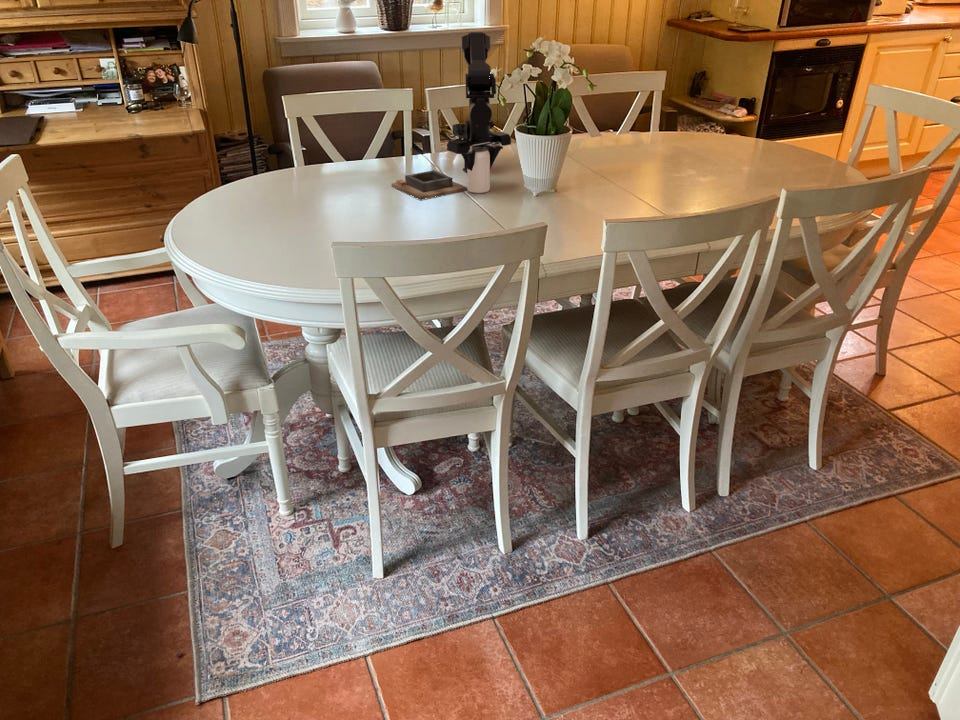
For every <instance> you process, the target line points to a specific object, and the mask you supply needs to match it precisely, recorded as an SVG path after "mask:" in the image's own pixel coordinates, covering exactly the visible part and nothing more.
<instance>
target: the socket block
mask: <svg viewBox="0 0 960 720" xmlns="http://www.w3.org/2000/svg"><path fill="white" fill-rule="evenodd" d="M404 178H405V180H404V179H397V180H396V181H395V182H392V183H391V187H392V186H393V187H392V188H394V187H395V188H394V189H396V188H397V189H396V190H398V189H399V190H398V191H400V190H401V191H400V192H402V191H403V192H402V193H404V192H405V193H404V194H406V193H407V194H406V195H408V194H409V195H408V196H410V195H412V196H414V197H416V198H418V199H425V198H429V199H432V198H431V197H434V198H438V197H437V196H439V197H442V196H441V195H444V196H447V194H448V195H453V194H456V193H457V192H458V193H461V192H466V191H468V186H465V185H463V184H460V183H458V182H455V181H454V180H453V177H451V176H448V175H447V174H444V173H442V172H439V171H437V170H435V169H433V170H429V171H422V172H418V173H412V174H407V175H404ZM452 193H453V194H452ZM412 196H411V197H412ZM435 196H436V197H435ZM414 197H413V198H414ZM416 198H415V199H416ZM418 199H417V200H418ZM425 200H426V199H425Z"/></svg>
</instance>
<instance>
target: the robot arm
mask: <svg viewBox="0 0 960 720" xmlns="http://www.w3.org/2000/svg"><path fill="white" fill-rule="evenodd" d="M460 45H461V46H460V47H461V53H463V60H464V61H465V63H466V64H467V73H465V75H464V77H465V78H464V79H465V82H464V83H465V84H464V85H465V99H468V118H469V119H466V121H465V125H462V124H461V123H456V124H453V125H452V130H451V131H452V135H453V136H454V137H458V138H453V139H449V140H448V141H447V144H446V150H447V151H449V152H451V153H454V154H456V155H461V156H462V158H463V161H464V163H463V164H464V165H463V166H464V167H463V168H462V171H464V172H467V168H468V169H469V170H471V171H472V169H473V166H474V162H475V152H473V151H472V147H486V148H488V152H489V154H490V170H491V169H492V166H493V165H494V163H495V160H496V158H497V157H498V155H499V153H500V151H501V150H503V149H504V146H510V145H512V138H511V135H510V133H507V132H503V131H501V130H499V131H495V132H491V131H490V129H491V126H493V121H492V120H491V119H492V116H493V112H492V111H493V110H492V108H491V103H490V99H494V98H495V95H496V94H497V82H496V77H495V74H494V73H492V70H491V65H489V64H488V63H487V59H488V55H489V54H488V53H490V51H491V36H489V35H487V34H486V32H483V31H470V32H467V34H465V35H462V36H461V44H460ZM490 72H491V74H490ZM489 76H490V77H489ZM489 78H490V79H489Z"/></svg>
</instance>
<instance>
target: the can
mask: <svg viewBox="0 0 960 720" xmlns="http://www.w3.org/2000/svg"><path fill="white" fill-rule="evenodd" d="M472 151H473V152H475V162H474V166H473V169H472V171H471V170H469V169H468V168H467V171H466V172H467V175H466V176H467V191H468V192H469V193H471V194H485V193H488V192H489V191H490V190H491V188H490V187H491V183H490V181H491V180H490V179H491V169H490V154H489V152H488V148H486V147H472Z"/></svg>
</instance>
